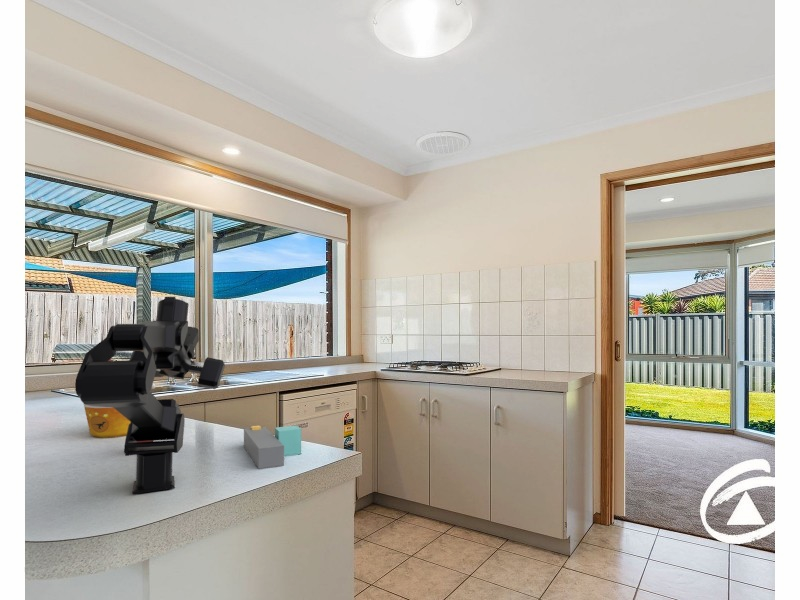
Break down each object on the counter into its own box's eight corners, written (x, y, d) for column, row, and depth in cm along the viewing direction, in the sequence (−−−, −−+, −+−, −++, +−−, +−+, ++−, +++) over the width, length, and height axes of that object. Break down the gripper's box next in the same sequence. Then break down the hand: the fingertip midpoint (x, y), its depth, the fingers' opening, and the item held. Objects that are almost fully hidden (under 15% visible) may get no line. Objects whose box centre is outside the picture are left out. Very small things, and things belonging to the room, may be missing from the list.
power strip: (284, 465, 96) (284, 442, 97) (258, 469, 94) (259, 445, 94) (262, 439, 118) (262, 420, 119) (240, 441, 116) (241, 422, 116)
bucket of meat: (161, 433, 125) (163, 358, 126) (88, 445, 113) (91, 361, 114) (137, 422, 139) (139, 354, 140) (70, 432, 127) (72, 357, 128)
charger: (301, 453, 105) (301, 428, 105) (268, 458, 102) (268, 432, 102) (296, 449, 109) (296, 425, 109) (265, 453, 105) (265, 428, 106)
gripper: (229, 329, 101) (235, 354, 115) (138, 310, 99) (155, 338, 112) (212, 378, 96) (220, 398, 109) (116, 359, 93) (136, 383, 107)
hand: (184, 378), depth 110 cm, fingers open, 9 cm apart
